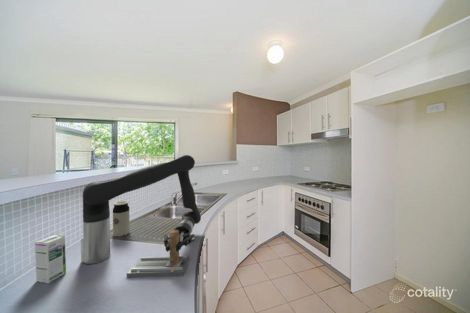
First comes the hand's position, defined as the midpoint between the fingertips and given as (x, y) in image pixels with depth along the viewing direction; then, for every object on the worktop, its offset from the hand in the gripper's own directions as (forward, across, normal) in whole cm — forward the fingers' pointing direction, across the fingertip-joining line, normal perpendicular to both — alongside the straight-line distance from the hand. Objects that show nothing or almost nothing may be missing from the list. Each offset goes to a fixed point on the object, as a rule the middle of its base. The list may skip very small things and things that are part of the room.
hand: (172, 249), depth 68 cm
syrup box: (+1, -44, +9) cm, 45 cm away
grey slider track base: (-3, -6, +9) cm, 11 cm away
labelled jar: (-35, -40, +9) cm, 54 cm away
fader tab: (-3, 0, +7) cm, 8 cm away
